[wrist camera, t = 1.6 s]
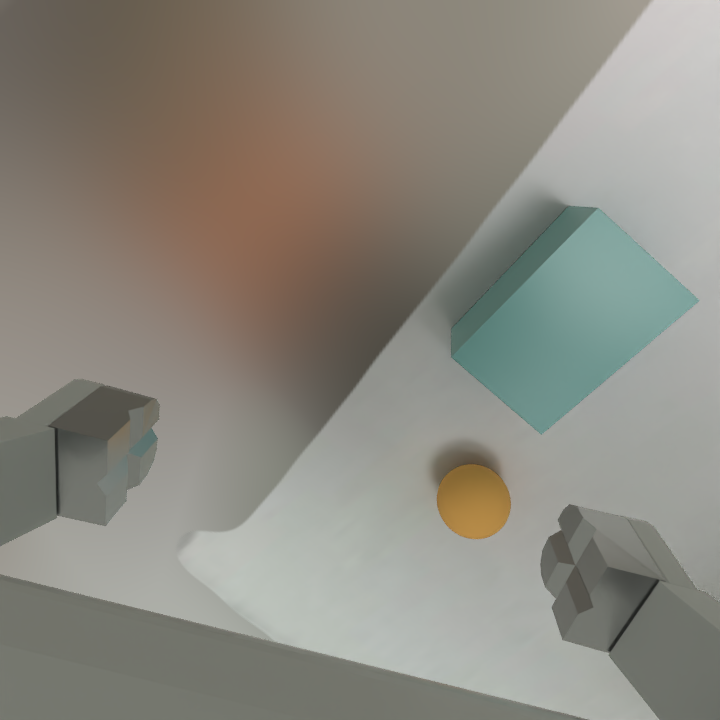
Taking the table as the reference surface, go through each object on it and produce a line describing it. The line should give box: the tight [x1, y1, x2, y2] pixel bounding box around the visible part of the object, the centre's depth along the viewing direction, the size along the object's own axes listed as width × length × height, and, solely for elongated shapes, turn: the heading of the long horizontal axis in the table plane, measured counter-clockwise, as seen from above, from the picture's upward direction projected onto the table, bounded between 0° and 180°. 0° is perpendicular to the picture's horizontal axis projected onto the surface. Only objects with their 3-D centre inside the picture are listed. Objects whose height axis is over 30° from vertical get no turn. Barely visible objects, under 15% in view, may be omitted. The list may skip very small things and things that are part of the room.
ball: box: [437, 464, 511, 539], centre depth 33 cm, size 5×5×5 cm
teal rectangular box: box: [451, 206, 700, 435], centre depth 28 cm, size 10×7×6 cm, turn 141°
